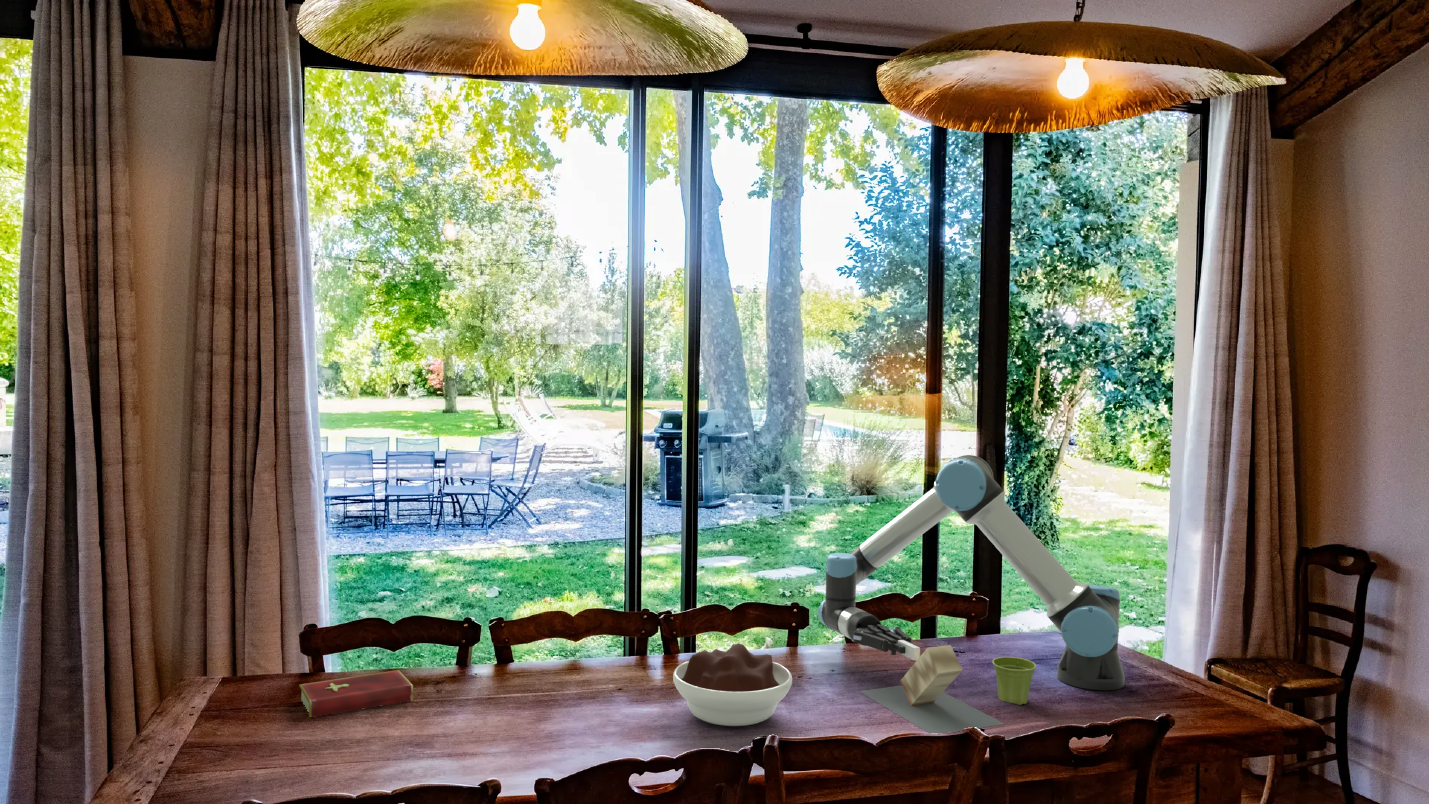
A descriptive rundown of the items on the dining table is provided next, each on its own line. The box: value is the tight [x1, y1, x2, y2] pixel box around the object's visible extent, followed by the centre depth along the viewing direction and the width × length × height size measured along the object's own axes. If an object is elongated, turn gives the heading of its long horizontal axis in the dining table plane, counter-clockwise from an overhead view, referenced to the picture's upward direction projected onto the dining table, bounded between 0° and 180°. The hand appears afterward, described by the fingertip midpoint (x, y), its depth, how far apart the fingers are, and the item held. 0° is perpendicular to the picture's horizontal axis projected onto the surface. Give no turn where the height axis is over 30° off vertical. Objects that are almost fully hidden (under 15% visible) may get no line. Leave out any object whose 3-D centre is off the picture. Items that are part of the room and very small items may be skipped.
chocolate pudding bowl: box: [672, 643, 793, 727], centre depth 205 cm, size 25×25×15 cm
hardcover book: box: [299, 669, 414, 718], centre depth 210 cm, size 12×21×4 cm, turn 122°
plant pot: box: [991, 656, 1037, 706], centre depth 219 cm, size 9×9×9 cm
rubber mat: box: [858, 684, 1005, 734], centre depth 212 cm, size 28×18×1 cm, turn 23°
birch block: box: [899, 644, 963, 706], centre depth 211 cm, size 6×6×14 cm
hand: (916, 654), depth 214 cm, fingers closed
